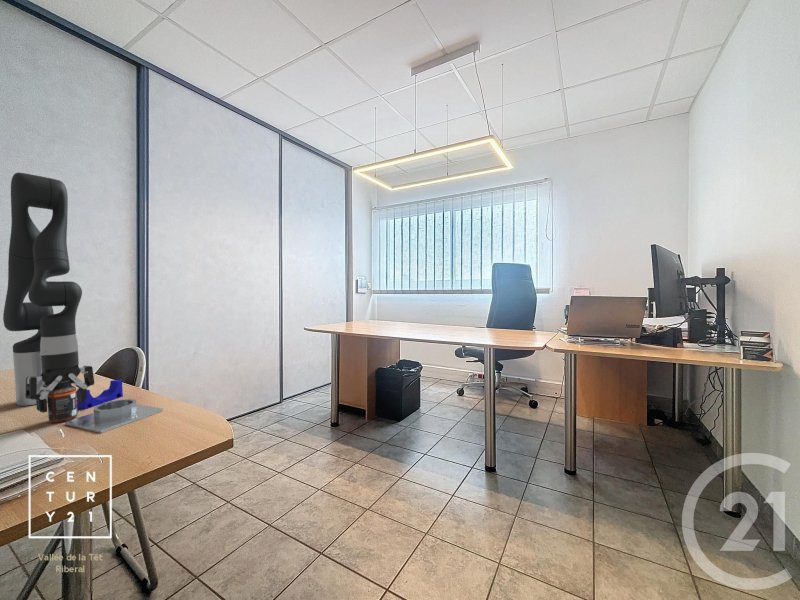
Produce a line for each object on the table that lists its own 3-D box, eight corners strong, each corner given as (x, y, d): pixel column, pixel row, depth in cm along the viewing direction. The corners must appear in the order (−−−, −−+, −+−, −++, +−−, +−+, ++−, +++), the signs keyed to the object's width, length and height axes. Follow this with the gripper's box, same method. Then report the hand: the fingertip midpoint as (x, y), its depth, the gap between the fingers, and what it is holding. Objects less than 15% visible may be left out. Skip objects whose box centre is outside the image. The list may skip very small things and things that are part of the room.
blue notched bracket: (112, 396, 117) (111, 379, 117) (122, 397, 116) (122, 380, 116) (73, 409, 105) (72, 390, 105) (85, 410, 105) (84, 391, 104)
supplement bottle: (82, 416, 99) (80, 379, 98) (56, 424, 93) (54, 384, 92) (70, 414, 101) (68, 377, 100) (43, 422, 95) (41, 382, 94)
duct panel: (65, 424, 93) (64, 411, 93) (128, 404, 108) (127, 393, 108) (101, 433, 88) (100, 418, 88) (162, 411, 103) (162, 398, 103)
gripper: (82, 345, 104) (85, 397, 105) (17, 355, 90) (21, 414, 91) (97, 347, 101) (100, 399, 102) (33, 357, 88) (37, 417, 89)
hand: (63, 406), depth 97 cm, fingers open, 8 cm apart
